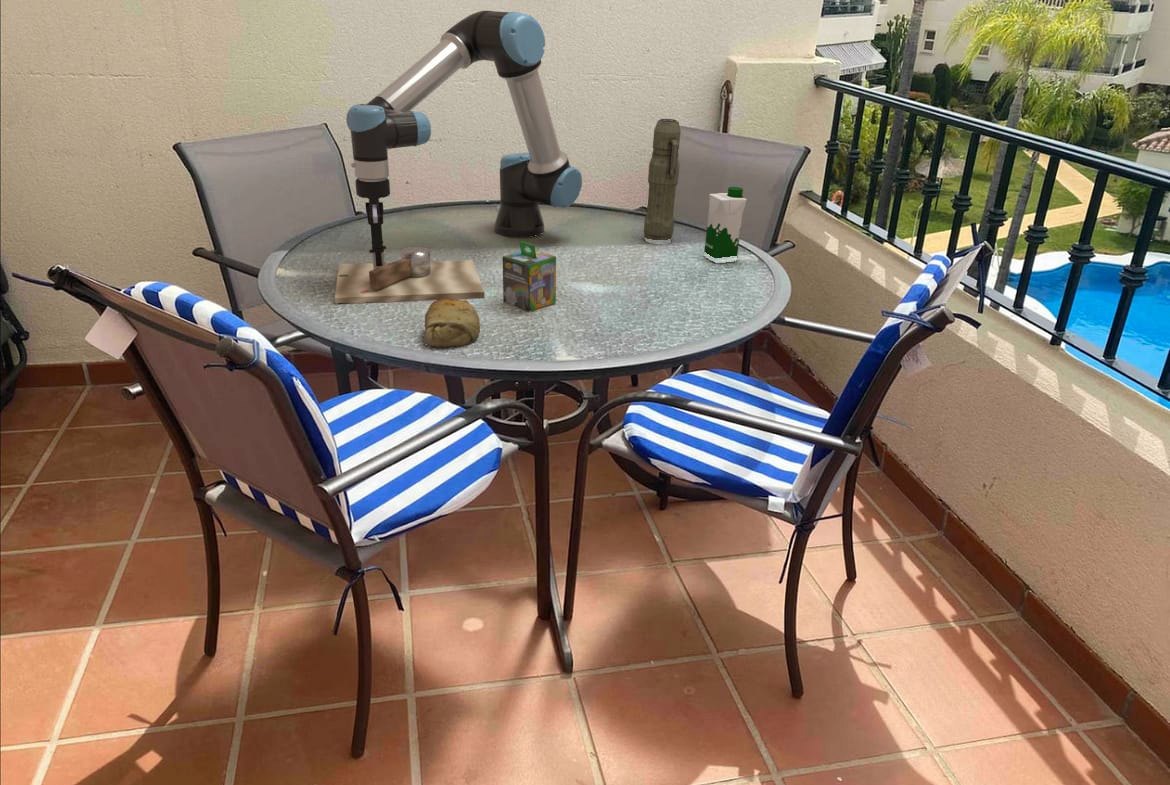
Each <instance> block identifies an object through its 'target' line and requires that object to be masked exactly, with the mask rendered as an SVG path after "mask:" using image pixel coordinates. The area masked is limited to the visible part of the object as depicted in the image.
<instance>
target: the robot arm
mask: <svg viewBox="0 0 1170 785" xmlns="http://www.w3.org/2000/svg"><path fill="white" fill-rule="evenodd" d="M538 21H539V20H537V19H536V18H534V17H533V16H532V15H530V14H527V13H522V12H520V11H511V12H510V11H493V10H479V11H477V12H474V13H472V14H470V15H468V16H466V17H464V18H463V19H461V20H460V21H458V22H456V24H454V25H452V26H451V27H450V28H448V30H447V31H446V32H444V33H443V34H442V35H441V37H440V42H439V43H438V44H437V45H435V46H434V47H433V48H432V49H431V50H430V51H428V52H427V53H425V55H424V56H422V57H421V58H419V60H417V62H415V63H414V64H412V65H411V67H410V68H408V69H407V70H406V71H404V72H403V73H401V75H400V76H398V77H397V78H396V79H395V80H394V81H393V82H391V83H390V84H389V85H388V86H386V87H385V88H384V89H383V90H382V91H380V93H378V94H377V95H375V97H373V98H372V99H371V100H370V101H369V102H367V103H358V104H353V105H352V106H350V108H349V109H348V110H347V113H346V125H347V127H348V129H349V131H350V139H351V148H352V157H353V158H352V159H353V163H350V164H351V165H350V166H351V168H353V169H354V176H355V178H356V179H355V181H354V182H355V193H356V195H357V196H358V197H359V198H363V199H368V202H367V201H366V202H365V203H364V204H365V213H366V214H367V224H368V225H370V235H371V249H369V250H368V251H369V252H368V253H370V254H372V263H373V268H374V269H376V268H379V267H382V266H384V265H385V263H386V261H385V260H386V259H385V250H387V246H386V245H384V241H383V231H382V230H383V229H382V227H383V226H382V225H383V224H384V217H383V216H384V214H383V213H384V203H383V202H382V201H380V199H382V198H383V199H384V198H387V197H389V196H390V195H391V186H390V185H391V184H390V179H389V176H390V167H389V166H390V165H389V157H388V150H391V149H400V148H408V147H417V146H421V145H425V144H426V143H428V142H429V140H430V138H431V137H432V136H431V135H432V129H431V128H432V126H431V122H430V119H429V117H428V116H427V115H426V114H425V113H424V112H422V111H417V110H416V111H414V110H413V109H414V108H416V107H417V106H418V105H419V104H420V103H421V102H422V101H423V100H425V99H426V98H427V97H428V96H429V95H431V93H434V91H435V90H436V89H437V88H439V87H440V86H441V85H443V83H445V82H447V80H448V79H449V78H450V77H451V76H452V75H454V74H455V73H457V72H458V71H459V70H460V69H462V70H463V69H467V68H469V67H470V66H471V65H472V64H474V63H477V62H481V61H489V62H493V63H494V65H495V68H496V71H497V75H498V76H499V78H501V79H503V80H505V81H506V83H507V87H508V91H509V93H510V97H511V100H512V103H513V106H514V110H515V112H516V116H517V119H518V123H519V126H520V129H521V132H522V135H523V139H524V142H525V145H526V148H527V152H519V153H510V154H506V155H503V156H501V158H500V161H499V162H500V163H499V164H500V167H499V192H500V194H499V196H500V199H499V202H500V205H499V209H498V212H497V215H496V218H495V221H494V232H495V233H496V234H498V235H501V236H505V237H510V238H530V237H529V236H534V237H536V236H535V235H538V236H540V235H539V234H541V233H543V232H544V233H545V223H544V219H543V216H542V215H543V214H542V213H541V209H540V204H544V205H548V206H551V207H553V208H562V209H563V208H568V207H570V206H572V205H573V204H574V203H575V202H576V200H577V199H578V198H579V195H580V192H581V191H582V186H583V177H582V173H581V171H580V170H579V169H578V168H576V167H575V166H571V165H570V161H569V157H568V155H567V153H566V152H565V151H563V150H561V149H560V145H559V142H558V138H557V134H556V130H555V127H554V123H553V120H552V116H551V113H550V112H551V111H550V109H549V105H548V102H547V99H546V96H545V95H546V94H545V92H544V88H543V84H542V81H541V77H540V73H539V69H540V67H541V65H542V58H543V57H544V54H545V49H544V47H546V37H545V33H544V30H543V28H542V25H541V24H540V23H539V22H538ZM544 233H543V234H544ZM541 235H542V234H541Z"/></svg>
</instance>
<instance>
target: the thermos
mask: <svg viewBox="0 0 1170 785" xmlns="http://www.w3.org/2000/svg"><path fill="white" fill-rule="evenodd" d="M681 133H682V132H681V126H680V121H677V120H676V119H675V118H674V119H673V118H660V120H657V122H656V124H655V127H654V130H653V138H652V140H653V141H652V148H653V149H652V153H651V154H652V155H651V158H650V161H649V165H648V177H647V182H648V195H647V196H648V197H647V208H646V209H647V210H646V215H645V217H644V225H643V236H644V237H645V238H647V239H652V240H668V239H671V238H672V239H673V236H674V228H675V216H674V210H675V200H676V189H677V185H678V183H679V177H680V176H679V174H680V173H679V172H680V164H681V163H680V160H679V149H680V142H681V141H680V140H681ZM644 237H643V238H644Z"/></svg>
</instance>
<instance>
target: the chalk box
mask: <svg viewBox="0 0 1170 785" xmlns="http://www.w3.org/2000/svg"><path fill="white" fill-rule="evenodd" d="M518 242H519V249H520V250H519V251H516V252H515V251H514V252H512V253H509V254H506V255H503V256H502V296H503V299H502V300H503V303H505V304H508V305H511V306H513V307H516V308H518V309H520V310H523V311H526V312H527V313H531V312H533V311H535V310H538V309H541V308H544V307H546V306H550V305H552V304H555V303H557V280H556V279H557V274H556V273H557V256H556V255H552V254H550V253H546V252H542V251H538V250H536V248H535V245H534V243H533V244H532V243H529V242H526V241H523V240H519V241H518ZM526 248H529V249H526ZM530 311H531V312H530Z"/></svg>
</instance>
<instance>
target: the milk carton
mask: <svg viewBox="0 0 1170 785" xmlns="http://www.w3.org/2000/svg"><path fill="white" fill-rule="evenodd" d="M743 193H744V188H742V187H739V186H730V187H728V189H727V192H725V193H724V192H718V193H709V194H708V199H709V200H708V203H709V204H708V216H707V224H706V225H707V226H706V233H705V240H704V249H703V251H704V252H706V253H707V254H709V255H710V256H712V257H714V258H722V257H730V256H737V255H739V246H740V237H741V236H740V235H741V230H742V222H743V221H742V220H743V215H744V211H745V207H746V204H747V202H748V199H747V198H746V197H744V196H743ZM704 252H703V253H704ZM737 257H738V256H737Z"/></svg>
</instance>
